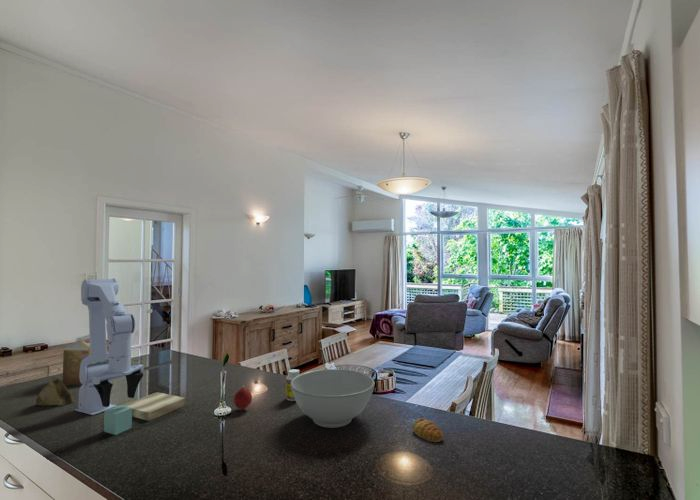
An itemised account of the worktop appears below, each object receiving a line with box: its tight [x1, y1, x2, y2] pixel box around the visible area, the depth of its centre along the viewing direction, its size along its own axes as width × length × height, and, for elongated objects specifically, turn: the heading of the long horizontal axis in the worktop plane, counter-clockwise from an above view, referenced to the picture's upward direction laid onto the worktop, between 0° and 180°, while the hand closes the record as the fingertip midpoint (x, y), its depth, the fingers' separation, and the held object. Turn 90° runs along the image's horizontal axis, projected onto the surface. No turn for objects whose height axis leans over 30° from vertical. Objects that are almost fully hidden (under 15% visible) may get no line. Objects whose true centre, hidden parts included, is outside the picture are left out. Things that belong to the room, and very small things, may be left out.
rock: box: [35, 377, 75, 407], centre depth 130 cm, size 11×9×10 cm
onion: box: [233, 385, 253, 411], centre depth 125 cm, size 6×6×8 cm
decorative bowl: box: [291, 368, 376, 429], centre depth 118 cm, size 27×27×12 cm
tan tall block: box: [61, 333, 108, 386], centre depth 155 cm, size 11×11×19 cm
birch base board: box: [121, 391, 187, 422], centre depth 125 cm, size 14×14×2 cm
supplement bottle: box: [285, 368, 300, 402], centre depth 135 cm, size 6×6×10 cm
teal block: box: [103, 404, 133, 436], centre depth 110 cm, size 5×5×6 cm
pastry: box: [411, 417, 445, 443], centre depth 107 cm, size 9×7×4 cm
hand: (118, 401), depth 110 cm, fingers open, 7 cm apart
